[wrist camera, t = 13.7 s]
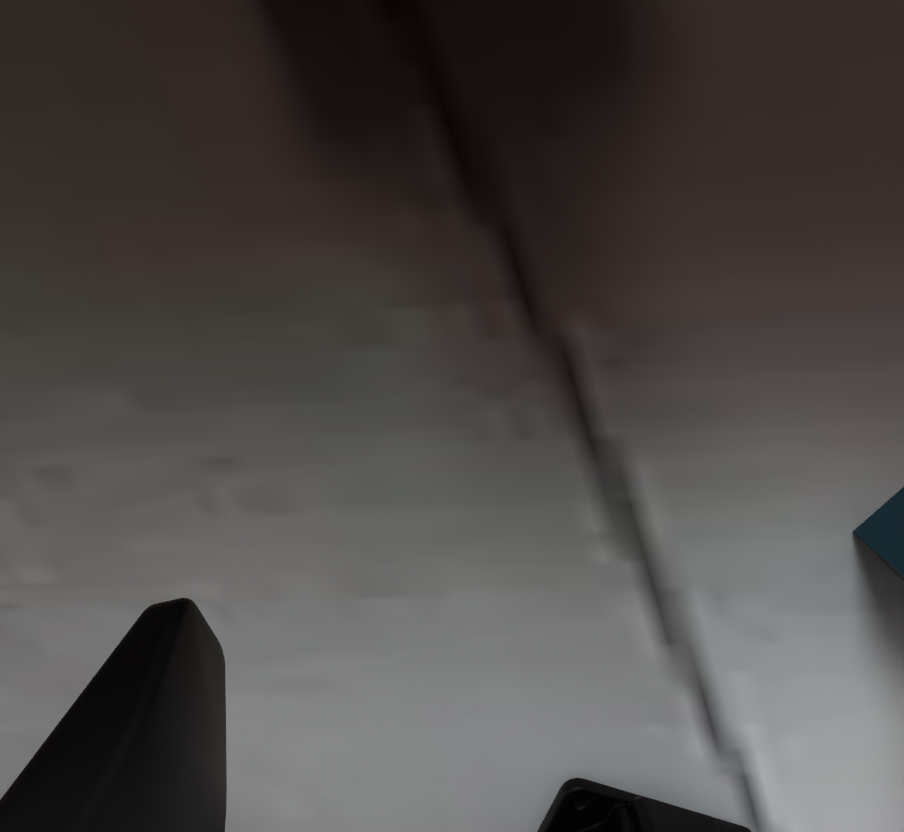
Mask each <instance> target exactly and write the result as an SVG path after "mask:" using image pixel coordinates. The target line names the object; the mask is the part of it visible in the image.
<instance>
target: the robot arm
mask: <svg viewBox="0 0 904 832" xmlns="http://www.w3.org/2000/svg"><path fill="white" fill-rule="evenodd" d="M226 790H227V780H226V697H225V660H224V655H223V650H222V648H221V645H220V643H219V641H218V639H217V638H216V636H215V635H214V633H213V631H212V630H211V628H210V626H209V625H208V623H207V622H206V620H205V618H204V617H203V615H202V614H201V612H200V610H199V609H198V607H197V606H196V604H195V603H194V602H193V601H192V600H190V599H188V598H180V599H175V600H171V601H166V602H162V603H157V604H153V605H151V606H149V607H148V608H147V609H146V610H145V611H144V612H143V613H142V614H141V616H140V617H139V618H138V619H137V621H136V622H135V623H134V625H133V626H132V627H131V629H130V630H129V631H128V633H127V634H126V635H125V637H124V638H123V639H122V641H121V642H120V643H119V644H118V646H117V647H116V648H115V650H114V651H113V652H112V654H111V655H110V656H109V658H108V659H107V660H106V662H105V663H104V664H103V666H102V667H101V668H100V669H99V671H98V672H97V673H96V675H95V676H94V677H93V679H92V680H91V681H90V683H89V684H88V685H87V687H86V688H85V689H84V691H83V692H82V693H81V694H80V696H79V697H78V698H77V700H76V701H75V702H74V704H73V705H72V706H71V708H70V709H69V710H68V712H67V713H66V714H65V716H64V717H63V718H62V719H61V721H60V722H59V723H58V725H57V726H56V727H55V729H54V730H53V731H52V733H51V734H50V735H49V737H48V738H47V739H46V741H45V742H44V743H43V744H42V746H41V747H40V748H39V750H38V751H37V752H36V754H35V755H34V756H33V758H32V759H31V760H30V762H29V763H28V764H27V766H26V767H25V768H24V769H23V771H22V772H21V773H20V775H19V776H18V777H17V779H16V780H15V781H14V783H13V784H12V785H11V787H10V788H9V789H8V791H7V792H6V793H5V794H4V796H3V797H2V798H1V800H0V832H225V819H226ZM576 795H583V796H582V797H580V798H573V797H574V796H576ZM538 832H751V831H750V829H748V828H746V827H743V826H740V825H737V824H733V823H730V822H727V821H723V820H720V819H716V818H713V817H710V816H707V815H704V814H700V813H697V812H694V811H690V810H687V809H684V808H680V807H677V806H674V805H670V804H667V803H663V802H660V801H657V800H653V799H650V798H647V797H643V796H639V795H636V794H633V793H629V792H626V791H623V790H619V789H616V788H612V787H609V786H606V785H602V784H599V783H596V782H592V781H589V780H586V779H581V778H575V779H570V780H568V781H567V782H565V783H564V784H563V785H562V787H561V788H560V790H559V792H558V794H557V796H556V798H555V800H554V802H553V803H552V805H551V807H550V809H549V811H548V813H547V815H546V817H545V818H544V820H543V822H542V824H541V826H540V828H539V830H538Z"/></svg>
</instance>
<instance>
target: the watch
mask: <svg viewBox="0 0 904 832" xmlns="http://www.w3.org/2000/svg"><path fill="white" fill-rule="evenodd" d="M853 532H854V533H855V534H856V535H857V536H858V537H859V538H860V539H861V540H862V541H863V542H864V543H865V544H866V545H867V546H868V547H869V548H870V549H871V550H873V551H874V552H875V553H876V554H877V555H878V556H879V557H880V558H881V559H882V560H883V561H884V562H885V563H886V564H887V565H888V566H889V567H890V568H891V569H892V570H893V571H894V572H895V573H896V574H897V575H898V576H900V577H901V578H902V579H903V580H904V487H903V488H902V489H901V490H900V491H899V492H898V493H897V494H895V495H894V496H893V497H892V498H891V499H890V500H889V501H887V502H886V503H885V504H884V505H883V506H882V507H881V508H880V509H878V510H877V511H876V512H875V513H874V514H873V515H872V516H870V517H869V518H868V519H867V520H866V521H865V522H864V523H862V524H861V525H860V526H859V527H858V528H857V529H856V530H854V531H853Z"/></svg>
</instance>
